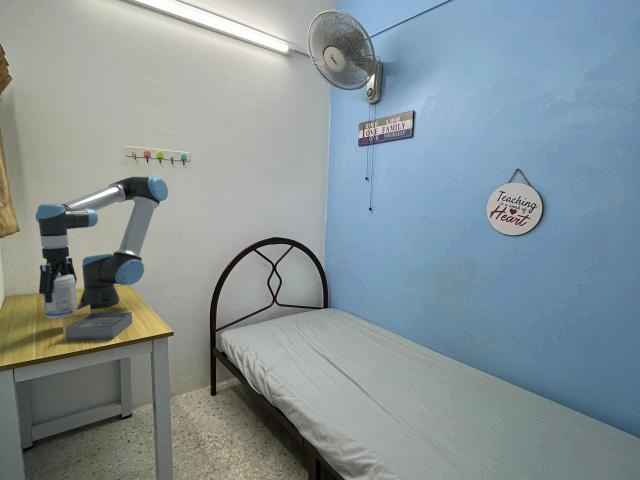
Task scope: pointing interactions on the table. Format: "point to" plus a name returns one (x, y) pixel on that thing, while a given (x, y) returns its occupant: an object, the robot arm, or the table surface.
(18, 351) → the table surface
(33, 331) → the table surface
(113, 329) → the gray square tray
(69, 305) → the supplement tub
